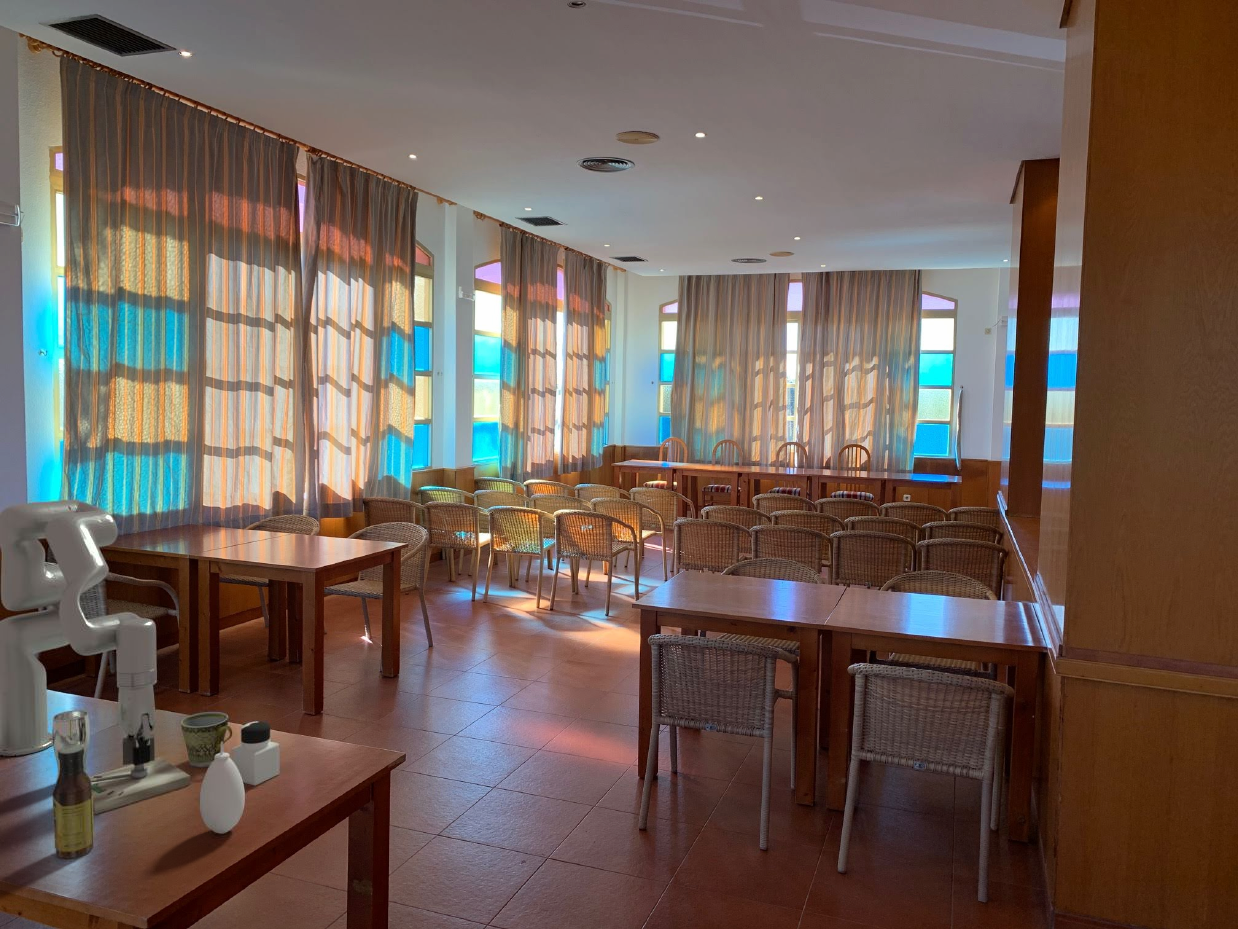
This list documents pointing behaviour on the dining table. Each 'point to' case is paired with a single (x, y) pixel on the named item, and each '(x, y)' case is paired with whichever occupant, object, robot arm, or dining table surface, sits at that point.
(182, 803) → the dining table surface
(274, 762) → the medicine bottle
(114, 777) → the grey block on stem
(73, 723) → the beer glass
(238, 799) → the white air blower bulb
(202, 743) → the ceramic cup
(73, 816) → the sauce bottle
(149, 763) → the tuner board
